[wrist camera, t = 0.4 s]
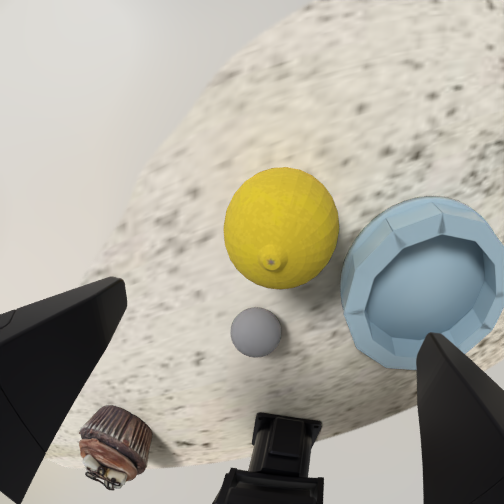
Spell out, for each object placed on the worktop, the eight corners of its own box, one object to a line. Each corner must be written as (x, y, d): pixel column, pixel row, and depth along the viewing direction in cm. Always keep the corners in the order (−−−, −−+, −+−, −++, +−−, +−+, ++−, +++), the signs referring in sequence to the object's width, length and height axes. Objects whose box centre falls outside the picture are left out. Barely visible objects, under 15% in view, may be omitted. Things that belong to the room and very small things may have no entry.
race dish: (460, 351, 22) (469, 374, 19) (324, 337, 23) (323, 364, 21) (516, 216, 16) (537, 231, 14) (359, 179, 18) (366, 191, 15)
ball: (280, 338, 24) (274, 371, 21) (236, 330, 25) (224, 362, 22) (287, 302, 23) (281, 333, 19) (238, 294, 23) (225, 324, 20)
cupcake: (94, 389, 34) (55, 448, 25) (163, 424, 34) (133, 490, 25) (96, 421, 39) (66, 471, 30) (155, 451, 39) (131, 505, 30)
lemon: (349, 177, 18) (369, 227, 11) (313, 255, 21) (308, 337, 14) (260, 142, 18) (223, 169, 11) (233, 224, 21) (188, 291, 14)
